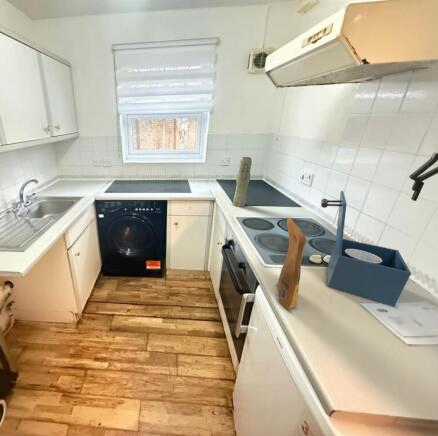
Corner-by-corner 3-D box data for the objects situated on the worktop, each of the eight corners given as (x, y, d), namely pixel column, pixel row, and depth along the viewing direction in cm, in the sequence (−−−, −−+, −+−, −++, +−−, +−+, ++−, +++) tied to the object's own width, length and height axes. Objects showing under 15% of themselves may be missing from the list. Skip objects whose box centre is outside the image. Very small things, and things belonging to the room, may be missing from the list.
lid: (343, 191, 93) (321, 191, 97) (346, 203, 80) (321, 202, 84) (338, 236, 99) (318, 235, 103) (341, 255, 85) (317, 252, 89)
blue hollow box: (384, 280, 95) (398, 250, 89) (394, 306, 81) (411, 273, 76) (327, 265, 104) (337, 237, 99) (328, 286, 91) (339, 256, 86)
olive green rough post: (243, 202, 182) (251, 156, 169) (247, 207, 171) (255, 158, 158) (231, 202, 183) (238, 156, 170) (234, 207, 173) (241, 158, 159)
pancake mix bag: (274, 310, 80) (294, 236, 69) (272, 277, 96) (287, 214, 85) (297, 316, 78) (321, 240, 67) (291, 282, 94) (309, 216, 83)
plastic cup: (371, 280, 93) (383, 254, 89) (369, 293, 86) (382, 266, 82) (337, 269, 100) (346, 244, 96) (333, 280, 93) (343, 254, 88)
